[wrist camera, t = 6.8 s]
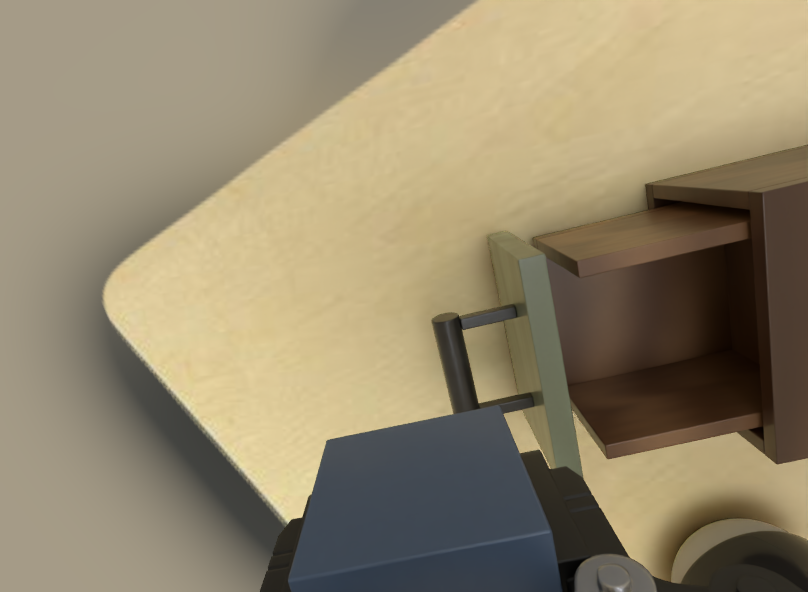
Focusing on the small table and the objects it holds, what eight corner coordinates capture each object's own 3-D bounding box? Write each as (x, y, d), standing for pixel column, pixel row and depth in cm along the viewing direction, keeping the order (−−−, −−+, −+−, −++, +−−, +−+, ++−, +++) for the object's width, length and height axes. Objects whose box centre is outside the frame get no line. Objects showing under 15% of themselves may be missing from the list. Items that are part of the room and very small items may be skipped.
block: (326, 439, 12) (286, 581, 8) (499, 403, 12) (552, 530, 8) (367, 581, 13) (351, 773, 9) (527, 550, 13) (587, 733, 9)
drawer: (456, 423, 32) (474, 503, 24) (415, 252, 29) (421, 282, 21) (734, 361, 31) (844, 425, 23) (721, 178, 28) (840, 183, 20)
